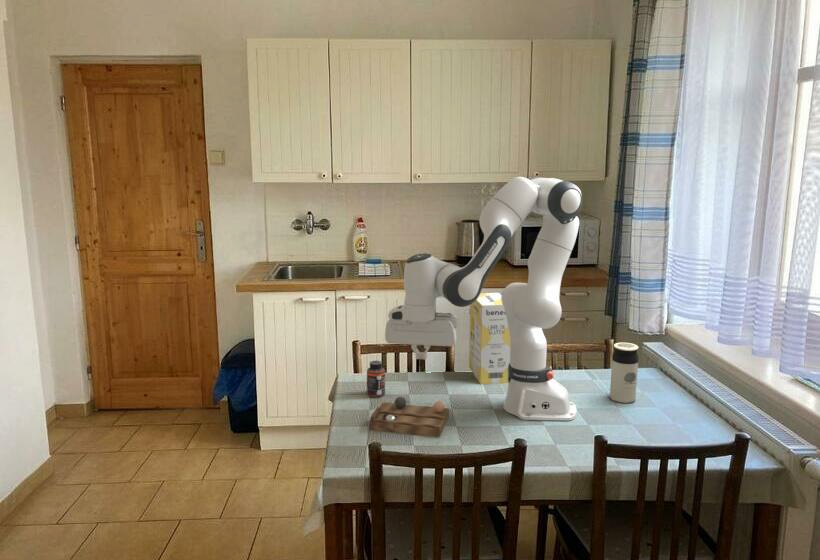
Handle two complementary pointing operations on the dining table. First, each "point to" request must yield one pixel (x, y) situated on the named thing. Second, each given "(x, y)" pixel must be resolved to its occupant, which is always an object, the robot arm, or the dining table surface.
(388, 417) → the steel ball
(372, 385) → the supplement bottle
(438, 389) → the dining table surface
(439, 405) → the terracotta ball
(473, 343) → the pasta box
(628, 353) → the travel mug
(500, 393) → the dining table surface
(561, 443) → the dining table surface
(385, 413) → the race deck
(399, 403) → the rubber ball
